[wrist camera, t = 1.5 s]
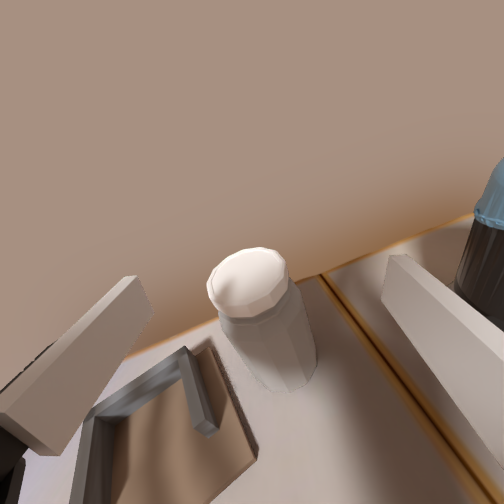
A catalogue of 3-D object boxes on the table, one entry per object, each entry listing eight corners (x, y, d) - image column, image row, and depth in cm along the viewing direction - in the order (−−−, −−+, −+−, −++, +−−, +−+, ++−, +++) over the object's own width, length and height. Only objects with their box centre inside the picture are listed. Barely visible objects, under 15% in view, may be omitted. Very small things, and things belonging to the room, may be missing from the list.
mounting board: (212, 350, 36) (198, 333, 33) (256, 460, 23) (241, 448, 20) (94, 433, 31) (66, 421, 28) (69, 629, 18) (13, 645, 15)
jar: (307, 323, 34) (282, 232, 24) (329, 388, 26) (305, 294, 16) (251, 337, 35) (205, 256, 26) (255, 404, 27) (191, 325, 17)
